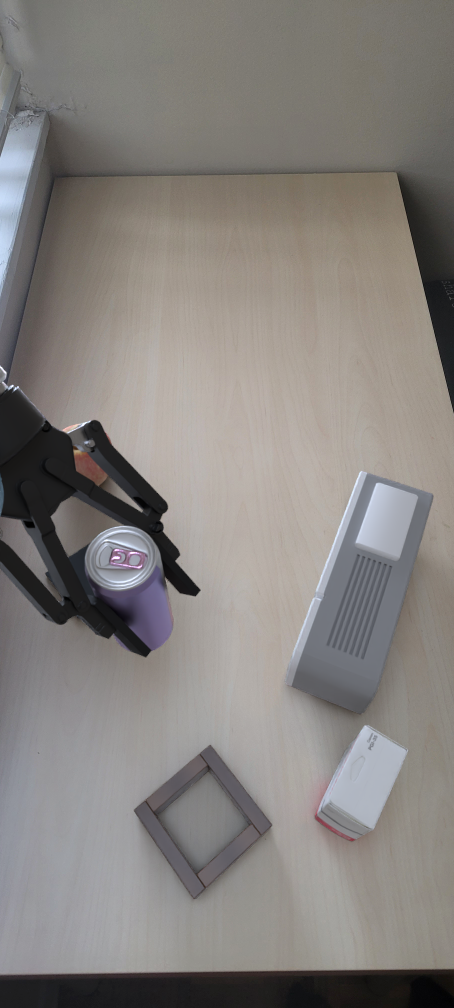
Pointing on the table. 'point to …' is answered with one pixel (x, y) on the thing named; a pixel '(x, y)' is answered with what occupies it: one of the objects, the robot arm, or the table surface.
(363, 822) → the ink box
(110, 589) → the beverage can
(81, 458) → the apple
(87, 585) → the coaster
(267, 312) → the table surface
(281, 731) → the table surface
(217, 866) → the holder
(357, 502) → the alarm clock
